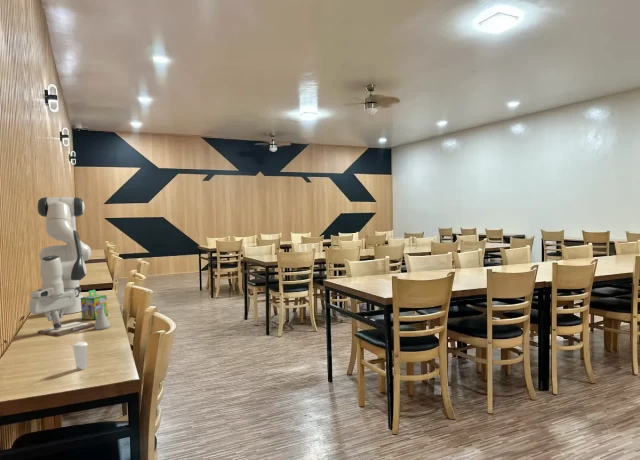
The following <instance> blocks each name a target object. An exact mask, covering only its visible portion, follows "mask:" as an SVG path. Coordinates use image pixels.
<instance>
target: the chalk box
mask: <svg viewBox="0 0 640 460" xmlns="http://www.w3.org/2000/svg"><path fill="white" fill-rule="evenodd" d="M92 293H93V294H92ZM80 299H81V309H82V311H81V319H82V320H95V321H96V318H97V313H98V311H97V308H98V307H104V313H105V316H106V317H108V316H109V315H108V300H107V295H103V294H97V291H96V289H92V290H88V296H83V298H80Z"/></svg>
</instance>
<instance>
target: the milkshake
mask: <svg viewBox="0 0 640 460" xmlns="http://www.w3.org/2000/svg"><path fill="white" fill-rule="evenodd" d="M70 345H71V346H72V351H73V354H74V355H73V356H74V360H75V367H76V370H77V371H83V370H86V369H87V368H88V351H89V350H88V349H89V348H88V347H89V346H88V345H89V343H87V342H86V341H78V342H76V343H74V344H73V345H72V343H70Z"/></svg>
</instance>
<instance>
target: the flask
mask: <svg viewBox="0 0 640 460" xmlns="http://www.w3.org/2000/svg"><path fill="white" fill-rule="evenodd" d="M97 311H98V313H97V318H96V320H95V322H94V323H95V325H94V327H92V329H93V330H98V331H99V330H105V329H108V328H110V327H111V324H110V323H109V320H108V318H107V316H105V313H104V307H98V308H97Z"/></svg>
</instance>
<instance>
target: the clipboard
mask: <svg viewBox="0 0 640 460" xmlns="http://www.w3.org/2000/svg"><path fill="white" fill-rule="evenodd" d="M94 325H95V322H86V321H75V320H74V321H71V322H69V323H64V324H61V327H60V328H56V329H54V326H52V327H48V328H44V329H40V330H37V334H41V335H47V336H54V337H63V336H65V335H69V334H73V333H77V332H79V331H80V332H81V331H83V330H87V329H91V328H94Z"/></svg>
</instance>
